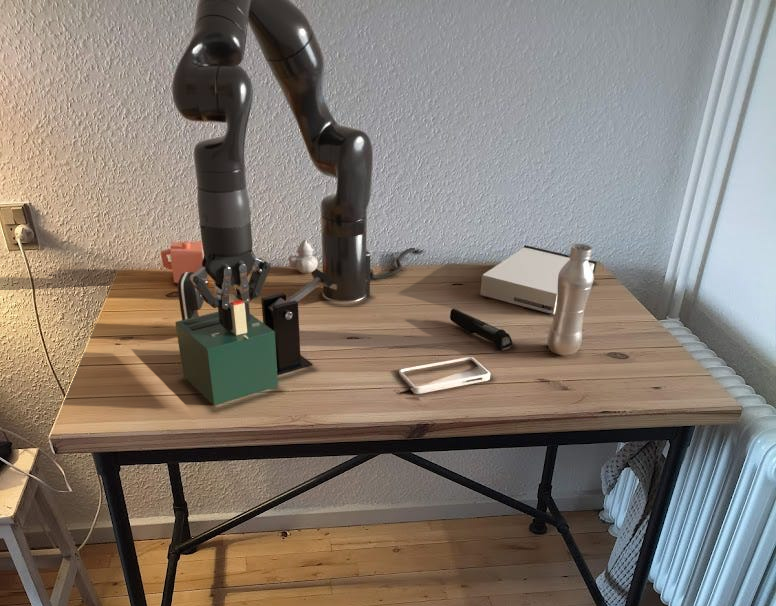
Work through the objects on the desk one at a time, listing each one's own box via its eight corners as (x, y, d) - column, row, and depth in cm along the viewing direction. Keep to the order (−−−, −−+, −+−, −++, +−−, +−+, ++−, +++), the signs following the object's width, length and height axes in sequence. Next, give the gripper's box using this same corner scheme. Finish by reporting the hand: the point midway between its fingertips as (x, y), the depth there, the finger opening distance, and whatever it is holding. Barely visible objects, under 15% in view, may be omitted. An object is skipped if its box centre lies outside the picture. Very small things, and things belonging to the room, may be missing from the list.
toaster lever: (320, 276, 136) (314, 265, 134) (335, 286, 133) (330, 274, 131) (269, 314, 134) (263, 304, 132) (283, 325, 131) (278, 314, 129)
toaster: (245, 363, 140) (240, 305, 133) (279, 391, 132) (275, 331, 125) (184, 381, 134) (175, 320, 127) (215, 411, 126) (207, 348, 119)
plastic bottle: (581, 347, 149) (602, 243, 137) (576, 362, 144) (597, 256, 131) (548, 341, 150) (566, 238, 138) (542, 356, 145) (560, 250, 133)
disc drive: (592, 282, 175) (597, 261, 172) (554, 315, 160) (558, 292, 157) (522, 266, 182) (525, 244, 179) (479, 296, 167) (481, 273, 164)
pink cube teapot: (221, 284, 168) (217, 247, 163) (164, 287, 166) (159, 249, 161) (220, 271, 174) (216, 235, 169) (165, 274, 172) (159, 237, 167)
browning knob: (223, 325, 126) (220, 295, 123) (234, 323, 127) (231, 292, 124) (236, 335, 123) (233, 304, 120) (247, 332, 124) (244, 301, 121)
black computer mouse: (204, 342, 146) (197, 283, 139) (184, 342, 146) (176, 283, 139) (210, 326, 151) (203, 269, 144) (190, 326, 151) (183, 269, 144)
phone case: (471, 362, 142) (397, 376, 138) (471, 355, 142) (397, 369, 137) (490, 380, 137) (414, 395, 132) (491, 373, 136) (415, 388, 131)
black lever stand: (293, 354, 143) (289, 288, 135) (312, 369, 138) (310, 301, 131) (254, 365, 139) (248, 297, 131) (273, 381, 135) (268, 312, 127)
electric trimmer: (458, 320, 158) (459, 305, 156) (513, 346, 148) (515, 331, 146) (445, 324, 156) (446, 309, 154) (499, 351, 146) (501, 336, 144)
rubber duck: (319, 276, 174) (318, 240, 169) (290, 277, 173) (288, 241, 168) (316, 267, 178) (315, 232, 173) (287, 268, 177) (285, 233, 172)
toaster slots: (232, 310, 131) (232, 309, 131) (242, 317, 129) (242, 317, 129) (183, 322, 127) (183, 321, 127) (192, 330, 125) (192, 329, 125)
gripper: (254, 204, 120) (261, 309, 131) (170, 218, 113) (185, 328, 124) (278, 217, 115) (283, 325, 126) (192, 232, 109) (206, 345, 119)
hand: (235, 326), depth 125 cm, fingers closed on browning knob, 2 cm apart
